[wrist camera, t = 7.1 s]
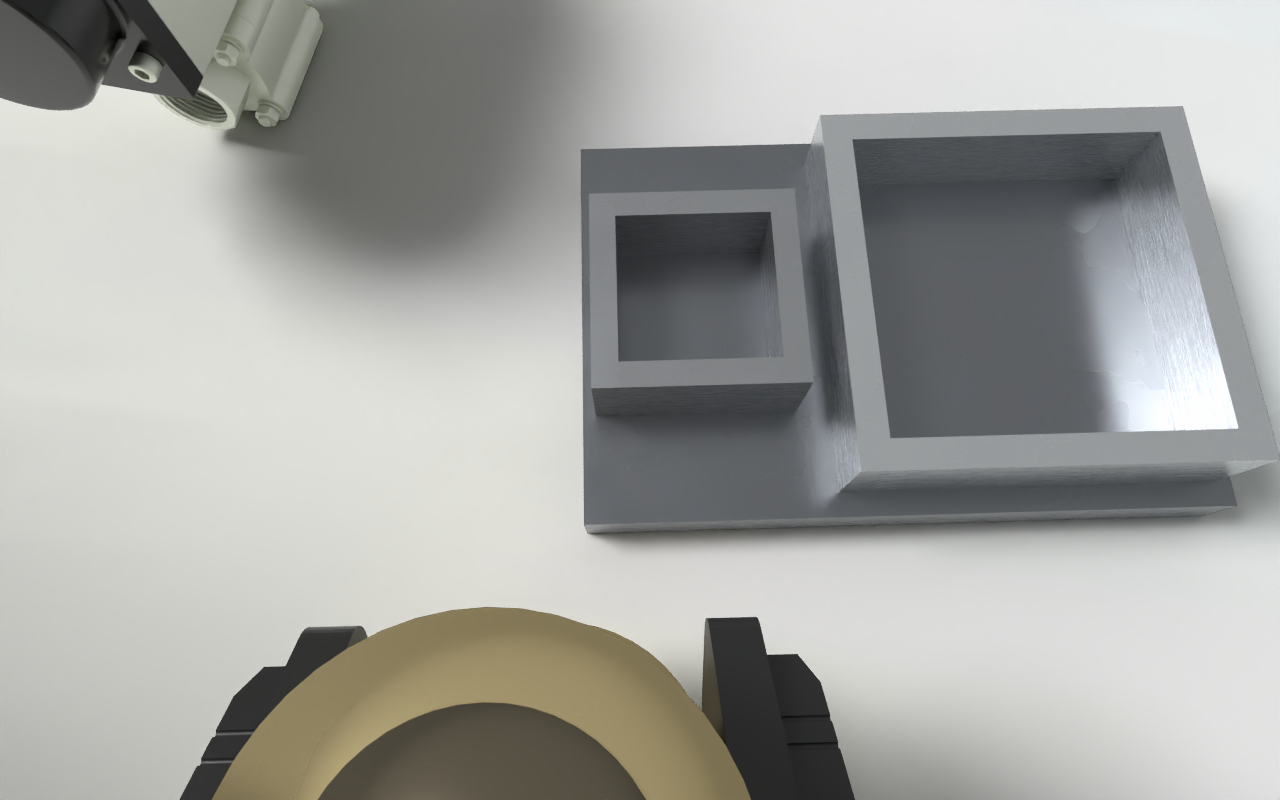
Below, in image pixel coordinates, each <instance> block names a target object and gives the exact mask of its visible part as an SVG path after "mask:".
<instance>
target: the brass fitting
mask: <svg viewBox="0 0 1280 800" xmlns="http://www.w3.org/2000/svg"><path fill="white" fill-rule="evenodd" d="M212 800H751V799H750V796H749V793H748V790H747V788H746V785H745V782H744V780H743V778H742V776H741V774H740V772H739V770H738V768H737V766H736V765H735V763H734V761H733V759H732V757H731V755H730V753H729V751H728V749H727V747H726V745H725V744H724V742H723V741H722V739H721V738H720V736H719V735H718V733H717V732H716V730H715V729H714V728H713V726H712V725H711V723H710V722H709V720H708V719H707V717H706V716H705V714H704V713H703V712H702V711H701V710H700V708H699V707H698V706H697V705H696V704H695V703H694V702H693V701H692V699H691V698H690V697H689V696H688V695H687V694H686V692H685V691H684V689H683V688H682V687H681V685H680V684H679V682H678V681H677V680H676V678H675V677H674V676H673V675H672V674H671V673H670V672H669V671H668V669H667V668H666V667H665V666H664V665H663V664H662V663H661V662H659V661H658V660H657V659H656V658H655V657H654V656H653V655H651V654H650V653H649V652H648V651H646V650H645V649H643V648H642V647H640V646H639V645H637V644H636V643H634V642H633V641H631V640H629V639H626V638H624V637H622V636H620V635H618V634H616V633H614V632H611V631H608V630H605V629H602V628H599V627H596V626H590V625H586V624H582V623H579V622H576V621H573V620H570V619H567V618H564V617H561V616H558V615H554V614H548V613H543V612H537V611H532V610H526V609H519V608H496V607H482V608H471V609H460V610H450V611H446V612H441V613H437V614H432V615H428V616H423V617H419V618H415V619H412V620H410V621H407V622H404V623H401V624H399V625H396V626H393V627H390V628H388V629H385V630H382V631H380V632H378V633H376V634H374V635H372V636H370V637H368V638H366V639H364V640H363V641H361V642H359V643H357V644H355V645H353V646H351V647H349V648H347V649H346V650H344V651H343V652H341V653H340V654H338V655H337V656H335V657H334V658H332V659H331V660H330V661H328V662H327V663H325V664H324V665H322V666H321V667H319V668H318V669H316V670H315V671H314V672H313V673H312V674H311V675H309V676H308V677H307V678H306V679H305V680H304V681H302V682H301V683H300V684H299V685H298V686H297V687H295V688H294V689H293V690H292V691H291V692H290V693H289V694H287V695H286V696H285V697H284V699H283V700H282V701H281V702H280V703H279V704H278V705H277V706H276V707H275V708H274V709H273V711H272V712H271V713H270V714H269V715H268V716H267V717H266V718H265V719H264V720H263V721H262V723H261V724H260V725H259V726H258V727H257V729H256V730H255V732H254V733H253V734H252V736H251V737H250V738H249V740H248V741H247V743H246V744H245V745H244V747H243V748H242V749H241V751H240V752H239V754H238V755H237V756H236V758H235V759H234V761H233V763H232V764H231V766H230V768H229V770H228V771H227V773H226V775H225V777H224V778H223V780H222V782H221V784H220V785H219V787H218V789H217V791H216V792H215V794H214V796H213V798H212Z"/></svg>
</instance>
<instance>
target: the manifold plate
mask: <svg viewBox="0 0 1280 800" xmlns="http://www.w3.org/2000/svg"><path fill="white" fill-rule="evenodd" d="M581 212H582V329H583V445H584V526H585V528H586V531H587V533H615V532H649V531H683V530H717V529H751V528H785V527H819V526H853V525H888V524H922V523H956V522H990V521H1024V520H1058V519H1092V518H1126V517H1160V516H1194V515H1206V514H1210V513H1213V512H1217V511H1220V510H1224V509H1227V508H1231V507H1234V506H1237V504H1236V500H1235V497H1234V493H1233V489H1232V485H1231V481H1230V476H1233V475H1236V474H1239V473H1242V472H1245V471H1248V470H1251V469H1254V468H1257V467H1260V466H1263V465H1266V464H1269V463H1272V462H1275V461H1278V460H1280V457H1279V453H1278V449H1277V446H1276V442H1275V439H1274V435H1273V431H1272V428H1271V424H1270V420H1269V417H1268V413H1267V409H1266V406H1265V402H1264V399H1263V395H1262V391H1261V388H1260V384H1259V380H1258V377H1257V373H1256V370H1255V366H1254V362H1253V359H1252V355H1251V351H1250V348H1249V344H1248V341H1247V337H1246V333H1245V330H1244V326H1243V322H1242V319H1241V315H1240V312H1239V308H1238V304H1237V301H1236V297H1235V293H1234V290H1233V286H1232V283H1231V279H1230V275H1229V272H1228V268H1227V264H1226V261H1225V257H1224V254H1223V250H1222V246H1221V243H1220V239H1219V235H1218V232H1217V228H1216V225H1215V221H1214V217H1213V214H1212V210H1211V206H1210V203H1209V199H1208V196H1207V192H1206V188H1205V185H1204V181H1203V177H1202V174H1201V170H1200V167H1199V163H1198V159H1197V156H1196V152H1195V148H1194V145H1193V141H1192V138H1191V134H1190V130H1189V127H1188V123H1187V119H1186V116H1185V112H1184V109H1183V106H1175V107H1135V108H1094V109H1054V110H1014V111H974V112H933V113H893V114H853V115H820V118H819V121H818V124H817V127H816V130H815V133H814V136H813V139H812V143H811V144H784V145H744V146H704V147H665V148H625V149H585V150H581Z"/></svg>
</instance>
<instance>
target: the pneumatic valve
mask: <svg viewBox="0 0 1280 800" xmlns="http://www.w3.org/2000/svg"><path fill="white" fill-rule="evenodd" d="M319 15H320V14H319V12H318V11H317V10H316V9H315V8H313V7H312V6H310V5H307V4H306V2H305V0H0V98H3V99H6V100H9V101H12V102H15V103H19V104H23V105H27V106H31V107H36V108H41V109H47V110H58V111H60V110H74V109H78V108H82V107H84V106H86V105H88V104H89V103H90V102H92V100H93V99H94V97H95V95H96V93H97V91H98V89H99V87H100V85H101V84H102V85H108V86H114V87H119V88H125V89H131V90H136V91H142V92H148V93H152V94H153V95H154V96H155V98H156V99H157V100H158V101H159V102H160V103H161V104H162V105H164V106H165V107H166V108H167V109H169V110H170V111H172V112H173V113H175V114H176V115H178V116H180V117H182V118H184V119H186V120H188V121H190V122H192V123H195V124H197V125H200V126H203V127H207V128H211V129H217V130H225V129H231V128H236V126H237V123H238V121H239V119H240V116H241V114H242V111H243V110H248V111H256V115H255V117H256V119H257V120H258V122H259V123H260V124H261V125H262V126H265V127H270V126H276V124H277V122H278V120H286V119H288V117H289V115H290V112H291V110H292V107H293V105H294V102H295V100H296V97H297V95H298V92H299V89H300V87H301V84H302V82H303V79H304V77H305V74H306V72H307V69H308V67H309V64H310V62H311V59H312V57H313V54H314V51H315V49H316V46H317V44H318V41H319V39H320V36H321V34H322V31H323V28H324V27H323V23H322V22H321V20H320V19H319Z"/></svg>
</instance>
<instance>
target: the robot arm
mask: <svg viewBox="0 0 1280 800" xmlns="http://www.w3.org/2000/svg"><path fill="white" fill-rule="evenodd" d="M366 638H367V635H366V632H365V630H364V628H363V627H362V626H341V627H308V628H306V629H305V630H304V631H303V632H302V633H301V635H300V637H299V639H298V641H297V643H296V645H295V648H294V650H293V652H292V654H291V656H290V658H289V660H288V662H287V664H286V666H283V667H264V668H263V669H262V670H261V671H260V672H259V673H258V674H257V675H255V676H254V677H253V678H252V679H251V680H250V681H249V682H248V683H247V684H246V685H245V686H244V687H243V688H242V689H241V690H240V691H239V692H238V693H237V694H236V695H235V696H234V697H233V699H232V701H231V703H230V705H229V706H228V708H227V710H226V712H225V714H224V716H223V718H222V720H221V722H220V724H219V725H218V727H217V729H216V736H215V737H212V739H211V741H210V743H209V745H208V746H207V748H206V750H205V752H204V754H203V756H202V758H201V765H200V766H197V767H196V769H195V771H194V773H193V775H192V777H191V779H190V781H189V783H188V785H187V786H186V788H185V790H184V792H183V794H182V796H181V798H180V800H212V798H213V796H214V794H215V792H216V791H217V789H218V787H219V785H220V784H221V782H222V780H223V778H224V777H225V775H226V773H227V771H228V770H229V768H230V766H231V764H232V763H233V761H234V759H235V758H236V756H237V755H238V754H239V752H240V751H241V749H242V748H243V747H244V745H245V744H246V743H247V741H248V740H249V738H250V737H251V736H252V734H253V733H254V732H255V730H256V729H257V727H258V726H259V725H260V724H261V723H262V721H263V720H264V719H265V718H266V717H267V716H268V715H269V714H270V713H271V712H272V711H273V709H274V708H275V707H276V706H277V705H278V704H279V703H280V702H281V701H282V700H283V699H284V697H285V696H286V695H287V694H289V693H290V692H291V691H292V690H293V689H294V688H295V687H297V686H298V685H299V684H300V683H301V682H302V681H304V680H305V679H306V678H307V677H308V676H309V675H311V674H312V673H313V672H314V671H315V670H316V669H318V668H319V667H321V666H322V665H324V664H325V663H327V662H328V661H330V660H331V659H332V658H334V657H335V656H337V655H338V654H340V653H341V652H343V651H344V650H346V649H347V648H349V647H351V646H353V645H355V644H357V643H359V642H361V641H363V640H364V639H366ZM702 712H703V713H704V714H705V716H706V717H707V719H708V720H709V722H710V723H711V725H712V726H713V728H714V729H715V730H716V732H717V733H718V735H719V736H720V738H721V739H722V741H723V742H724V744H725V745H726V747H727V749H728V751H729V753H730V755H731V757H732V759H733V761H734V763H735V765H736V766H737V768H738V770H739V772H740V774H741V776H742V778H743V780H744V782H745V785H746V788H747V790H748V793H749V796H750V799H751V800H855V799H854V795H853V792H852V788H851V785H850V781H849V778H848V775H847V771H846V768H845V764H844V761H843V757H842V754H841V751H840V749H839V748H838V740H837V737H836V734H835V730H834V727H833V723H832V721H830V713H829V710H828V706H827V703H826V699H825V696H824V693H823V689H822V686H821V682H820V681H819V680H818V678H817V677H816V676H815V675H814V674H813V672H812V671H811V670H810V669H809V668H808V666H807V665H806V664H805V663H804V662H803V660H802V659H801V658H800V657H799V656H798V654H784V655H767V653H766V649H765V644H764V640H763V635H762V631H761V627H760V623H759V620H758V618H757V617H740V618H706V621H705V633H704V660H703V687H702Z"/></svg>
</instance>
